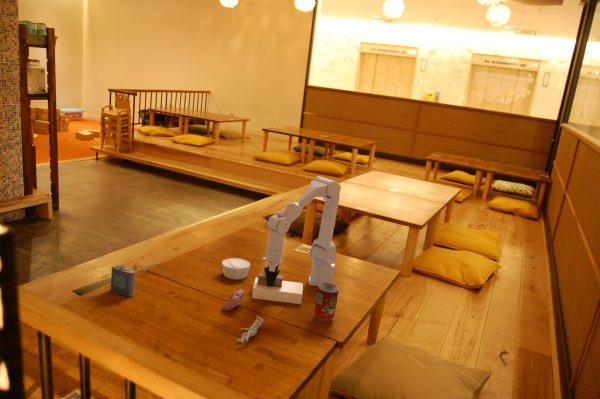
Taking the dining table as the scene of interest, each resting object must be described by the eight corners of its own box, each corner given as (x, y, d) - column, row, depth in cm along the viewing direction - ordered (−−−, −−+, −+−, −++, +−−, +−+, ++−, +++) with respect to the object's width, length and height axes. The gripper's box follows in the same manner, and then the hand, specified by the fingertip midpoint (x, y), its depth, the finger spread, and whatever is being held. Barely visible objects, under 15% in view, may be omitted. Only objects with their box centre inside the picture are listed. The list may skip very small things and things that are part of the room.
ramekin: (215, 276, 187) (216, 263, 186) (229, 267, 198) (231, 255, 196) (240, 283, 184) (241, 270, 182) (253, 274, 194) (255, 262, 193)
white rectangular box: (301, 292, 182) (302, 283, 181) (301, 304, 173) (302, 294, 172) (254, 286, 182) (255, 277, 181) (251, 298, 172) (253, 287, 171)
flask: (135, 295, 162) (136, 266, 160) (129, 298, 160) (130, 268, 157) (113, 288, 166) (115, 259, 163) (107, 291, 163) (108, 262, 160)
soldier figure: (230, 342, 143) (244, 315, 153) (241, 353, 144) (254, 325, 154) (246, 334, 139) (260, 306, 149) (257, 344, 140) (270, 316, 150)
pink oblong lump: (230, 316, 160) (241, 301, 158) (219, 308, 160) (230, 293, 158) (239, 304, 169) (250, 290, 168) (229, 297, 170) (239, 282, 168)
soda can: (323, 325, 159) (329, 291, 156) (309, 316, 164) (314, 283, 161) (338, 320, 164) (343, 287, 161) (323, 312, 169) (328, 280, 166)
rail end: (280, 291, 179) (283, 275, 177) (280, 295, 175) (282, 278, 174) (257, 288, 178) (259, 272, 177) (256, 292, 175) (258, 275, 174)
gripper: (265, 240, 180) (261, 273, 183) (262, 253, 166) (258, 289, 169) (284, 242, 180) (280, 275, 183) (282, 255, 166) (277, 291, 169)
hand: (270, 282), depth 176 cm, fingers open, 7 cm apart
